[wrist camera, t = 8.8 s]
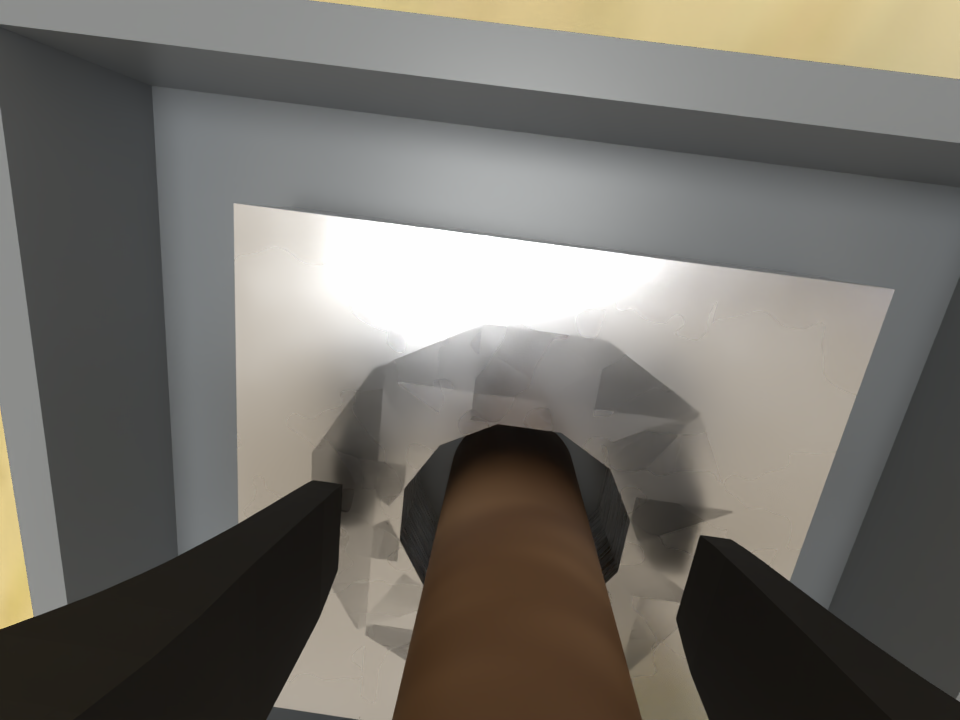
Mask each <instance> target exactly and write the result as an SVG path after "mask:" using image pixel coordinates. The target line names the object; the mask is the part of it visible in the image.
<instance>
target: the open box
mask: <svg viewBox="0 0 960 720" xmlns="http://www.w3.org/2000/svg"><path fill="white" fill-rule="evenodd" d="M234 203H238V204H251V205H264V206H278V207H291V208H299V209H307V210H314V211H322V212H330V213H337V214H345V215H353V216H360V217H368V218H376V219H383V220H391V221H399V222H406V223H414V224H422V225H429V226H437V227H445V228H452V229H460V230H468V231H475V232H483V233H491V234H498V235H506V236H514V237H521V238H529V239H537V240H544V241H552V242H560V243H568V244H575V245H583V246H591V247H598V248H606V249H614V250H621V251H629V252H637V253H644V254H652V255H660V256H667V257H675V258H683V259H690V260H698V261H706V262H713V263H721V264H729V265H736V266H744V267H752V268H759V269H767V270H775V271H782V272H790V273H798V274H805V275H812V276H818V277H824V278H830V279H836V280H842V281H848V282H854V283H860V284H866V285H871V286H877V287H883V288H889V289H895V291H894V294H893V296H892V299H891V302H890V305H889V307H888V310H887V313H886V316H885V318H884V321H883V324H882V327H881V329H880V332H879V335H878V338H877V341H876V343H875V346H874V349H873V352H872V354H871V357H870V360H869V363H868V365H867V368H866V371H865V374H864V377H863V379H862V382H861V385H860V388H859V390H858V393H857V396H856V399H855V401H854V404H853V407H852V410H851V413H850V415H849V418H848V421H847V424H846V426H845V429H844V432H843V435H842V437H841V440H840V443H839V446H838V448H837V451H836V454H835V457H834V460H833V462H832V465H831V468H830V471H829V473H828V476H827V479H826V482H825V484H824V487H823V490H822V493H821V496H820V498H819V501H818V504H817V507H816V509H815V512H814V515H813V518H812V520H811V523H810V526H809V529H808V532H807V534H806V537H805V540H804V543H803V545H802V548H801V551H800V554H799V556H798V559H797V562H796V565H795V567H794V570H793V573H792V576H791V579H790V582H791V583H793V584H794V585H795V586H797V587H798V588H799V589H800V590H802V591H803V592H804V593H806V594H807V595H808V596H810V597H811V598H812V599H814V600H815V601H816V602H818V603H819V604H820V605H822V606H823V607H824V608H826V609H827V610H828V611H830V612H831V613H832V614H834V615H835V616H836V617H838V618H839V619H840V620H842V621H843V622H844V623H846V624H847V625H849V626H850V627H851V628H853V629H854V630H855V631H857V632H858V633H860V634H861V635H862V636H864V637H865V638H866V639H868V640H869V641H871V642H872V643H873V644H875V645H876V646H878V647H879V648H881V649H882V650H883V651H885V652H886V653H888V654H889V655H891V656H892V657H894V658H895V659H896V660H898V661H899V662H901V663H902V664H904V665H905V666H906V667H908V668H909V669H911V670H912V671H914V672H915V673H917V674H918V675H919V676H921V677H922V678H924V679H926V680H927V681H929V682H930V683H932V684H933V685H935V686H936V687H938V688H939V689H941V690H942V691H944V692H945V693H947V694H948V695H950V696H952V697H953V698H955V699H956V700H958V701H959V702H960V79H952V78H944V77H936V76H928V75H919V74H911V73H903V72H895V71H886V70H878V69H870V68H862V67H854V66H845V65H837V64H829V63H821V62H812V61H804V60H796V59H788V58H779V57H771V56H763V55H755V54H747V53H738V52H730V51H722V50H714V49H705V48H697V47H689V46H681V45H672V44H664V43H656V42H648V41H640V40H631V39H623V38H615V37H607V36H598V35H590V34H582V33H574V32H565V31H557V30H549V29H541V28H533V27H524V26H516V25H508V24H500V23H491V22H483V21H475V20H467V19H458V18H450V17H442V16H434V15H426V14H417V13H409V12H401V11H393V10H384V9H376V8H368V7H360V6H351V5H343V4H335V3H327V2H319V1H310V0H0V408H1V415H2V421H3V427H4V433H5V440H6V446H7V452H8V458H9V465H10V471H11V477H12V483H13V490H14V496H15V502H16V508H17V515H18V521H19V527H20V534H21V540H22V546H23V552H24V559H25V565H26V571H27V577H28V584H29V590H30V596H31V602H32V609H33V615H34V617H35V616H38V615H41V614H43V613H46V612H49V611H51V610H54V609H57V608H59V607H62V606H65V605H67V604H70V603H73V602H75V601H78V600H81V599H83V598H86V597H88V596H91V595H93V594H96V593H98V592H100V591H103V590H105V589H107V588H110V587H112V586H114V585H117V584H119V583H121V582H123V581H126V580H128V579H130V578H133V577H135V576H137V575H139V574H142V573H144V572H146V571H148V570H150V569H152V568H154V567H157V566H159V565H161V564H163V563H165V562H167V561H169V560H171V559H173V558H175V557H177V556H179V555H181V554H183V553H185V552H186V551H188V550H190V549H192V548H194V547H196V546H198V545H200V544H202V543H203V542H205V541H207V540H209V539H211V538H213V537H215V536H217V535H219V534H220V533H222V532H224V531H226V530H228V529H230V528H231V527H233V526H235V525H237V524H238V463H237V398H236V332H235V266H234ZM555 433H556V434H557V435H558V436H559V437H560V438H561V439H562V440H563V442H564V443H565V445H566V446H567V448H568V450H569V452H570V455H571V458H572V462H573V466H574V469H575V473H576V477H577V480H578V484H579V488H580V492H581V495H582V499H583V503H584V506H585V510H586V514H587V517H588V516H589V515H590V514H591V513H592V512H593V511H594V510H595V509H596V508H597V507H598V503H599V498H600V493H601V489H602V484H603V480H604V475H605V471H606V466H605V465H604V464H603V463H601V462H600V461H599V460H597V459H596V458H595V457H593V456H592V455H591V454H589V453H588V452H587V451H585V450H584V449H582V448H581V447H580V446H578V445H577V444H576V443H574V442H573V441H572V440H570V439H569V438H568V437H566V436H565V435H564V434H562V433H560V432H555ZM464 437H465V436H463V437H461V438H458V439H455V440H452V441H450V442H447V443H444V444H442V445H439V447H438V448H437V449H436V450H435V452H434V453H433V454H432V455H431V456H430V458H429V459H428V460H427V461H426V463H425V464H424V465H423V466H422V467H421V473H420V484H421V486H422V488H423V490H424V492H425V494H426V496H427V498H428V500H429V502H430V504H431V506H432V508H433V510H434V512H435V514H436V516H437V518H438V520H439V517H440V513H441V508H442V504H443V500H444V496H445V491H446V487H447V483H448V479H449V474H450V470H451V466H452V462H453V457H454V454H455V452H456V449H457V447H458V445H459V444H460V442H461V441H462V440H463V438H464ZM266 720H358V719H352V718H345V717H338V716H332V715H325V714H319V713H312V712H305V711H299V710H292V709H286V708H279V707H273V708H272V710H271V712H270V714H269V716H268V718H267V719H266Z"/></svg>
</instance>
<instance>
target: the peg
mask: <svg viewBox="0 0 960 720" xmlns="http://www.w3.org/2000/svg"><path fill="white" fill-rule="evenodd" d="M392 720H642V718H641V714H640V710H639V707H638V703H637V699H636V695H635V692H634V688H633V684H632V681H631V677H630V673H629V669H628V666H627V662H626V658H625V655H624V651H623V647H622V644H621V640H620V636H619V632H618V629H617V625H616V621H615V618H614V614H613V610H612V606H611V603H610V599H609V595H608V592H607V588H606V584H605V581H604V577H603V573H602V569H601V566H600V562H599V558H598V555H597V551H596V547H595V543H594V540H593V536H592V532H591V529H590V525H589V521H588V518H587V514H586V510H585V506H584V503H583V499H582V495H581V492H580V488H579V484H578V480H577V477H576V473H575V469H574V466H573V462H572V458H571V455H570V452H569V450H568V448H567V446H566V445H565V443H564V442H563V440H562V439H561V438H560V437H559V436H558V435H557V434H556V433H555V432H552V431H545V430H538V429H531V428H524V427H516V426H509V425H502V424H496V425H493V426H491V427H488V428H485V429H482V430H480V431H477V432H474V433H472V434H469V435H466V436H465V437H464V438H463V440H462V441H461V442H460V444H459V445H458V447H457V449H456V452H455V454H454V457H453V462H452V466H451V470H450V474H449V479H448V483H447V487H446V491H445V496H444V500H443V504H442V508H441V513H440V517H439V521H438V526H437V530H436V534H435V538H434V543H433V547H432V551H431V555H430V560H429V564H428V568H427V572H426V577H425V581H424V585H423V590H422V594H421V598H420V602H419V607H418V611H417V615H416V619H415V624H414V628H413V632H412V637H411V641H410V645H409V649H408V654H407V658H406V662H405V666H404V671H403V675H402V679H401V683H400V688H399V692H398V696H397V701H396V705H395V709H394V713H393V718H392Z"/></svg>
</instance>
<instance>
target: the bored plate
mask: <svg viewBox="0 0 960 720" xmlns="http://www.w3.org/2000/svg"><path fill="white" fill-rule="evenodd" d="M234 266H235V332H236V398H237V463H238V523H240V522H242V521H244V520H245V519H247V518H249V517H250V516H252V515H254V514H255V513H257V512H259V511H261V510H262V509H264V508H266V507H267V506H269V505H271V504H272V503H274V502H276V501H277V500H279V499H281V498H282V497H284V496H286V495H287V494H289V493H291V492H292V491H294V490H296V489H298V488H299V487H301V486H303V485H304V484H306V483H308V482H310V481H312V480H317V481H324V482H331V483H338V484H343V486H342V505H341V525H340V544H339V563H338V571H337V574H336V577H335V579H334V582H333V585H332V587H331V590H330V593H329V595H328V598H327V600H326V603H325V605H324V608H323V611H322V613H321V616H320V618H319V620H318V622H317V624H316V626H315V628H314V630H313V632H312V634H311V636H310V638H309V639H308V641H307V643H306V645H305V647H304V649H303V651H302V653H301V655H300V657H299V659H298V661H297V663H296V664H295V666H294V668H293V670H292V672H291V674H290V676H289V678H288V680H287V681H286V683H285V685H284V687H283V689H282V691H281V693H280V695H279V697H278V699H277V700H276V702H275V704H274V706H273V707H279V708H286V709H292V710H299V711H305V712H312V713H319V714H325V715H332V716H338V717H345V718H352V719H358V720H392V718H393V713H394V709H395V705H396V701H397V696H398V692H399V688H400V683H401V679H402V675H403V671H404V666H405V662H406V658H407V654H408V649H409V645H410V641H411V637H412V632H413V628H414V624H415V619H416V615H417V611H418V607H419V602H420V598H421V594H422V590H423V585H424V581H425V577H426V572H427V568H428V564H429V560H430V555H431V551H432V547H433V543H434V538H435V534H436V530H437V526H438V521H439V520H438V518H437V516H436V514H435V512H434V510H433V508H432V506H431V504H430V502H429V500H428V498H427V496H426V494H425V492H424V490H423V488H422V486H421V484H420V473H421V467H422V466H423V465H424V464H425V463H426V461H427V460H428V459H429V458H430V456H431V455H432V454H433V453H434V452H435V450H436V449H437V448H438V447H439V445H442V444H444V443H447V442H450V441H452V440H455V439H458V438H461V437H463V436H466V435H469V434H472V433H474V432H477V431H480V430H482V429H485V428H488V427H491V426H493V425H496V424H502V425H509V426H516V427H524V428H531V429H538V430H545V431H552V432H560V433H562V434H564V435H565V436H566V437H568V438H569V439H570V440H572V441H573V442H574V443H576V444H577V445H578V446H580V447H581V448H582V449H584V450H585V451H587V452H588V453H589V454H591V455H592V456H593V457H595V458H596V459H597V460H599V461H600V462H601V463H603V464H604V465H605V466H606V471H605V475H604V480H603V484H602V489H601V493H600V498H599V503H598V507H597V508H596V509H595V510H594V511H593V512H592V513H591V514H590V515H589V516H588V517H587V518H588V521H589V525H590V529H591V532H592V536H593V540H594V543H595V547H596V551H597V555H598V558H599V562H600V566H601V569H602V573H603V577H604V581H605V584H606V588H607V592H608V595H609V599H610V603H611V606H612V610H613V614H614V618H615V621H616V625H617V629H618V632H619V636H620V640H621V644H622V647H623V651H624V655H625V658H626V662H627V666H628V669H629V673H630V677H631V681H632V684H633V688H634V692H635V695H636V699H637V703H638V707H639V710H640V714H641V718H642V720H709V719H708V716H707V714H706V711H705V709H704V706H703V704H702V701H701V699H700V696H699V694H698V691H697V689H696V686H695V684H694V681H693V679H692V676H691V673H690V670H689V667H688V663H687V660H686V656H685V653H684V649H683V645H682V641H681V637H680V634H679V630H678V626H677V622H676V616H677V612H678V609H679V606H680V602H681V599H682V595H683V592H684V588H685V585H686V581H687V578H688V575H689V571H690V568H691V564H692V561H693V557H694V554H695V550H696V547H697V544H698V540H699V537H700V535H705V536H712V537H719V538H726V539H731V540H733V541H735V542H736V543H738V544H739V545H741V546H742V547H744V548H745V549H747V550H748V551H750V552H751V553H752V554H754V555H755V556H757V557H758V558H759V559H761V560H762V561H763V562H765V563H766V564H767V565H769V566H770V567H771V568H773V569H774V570H775V571H777V572H778V573H779V574H781V575H782V576H783V577H785V578H786V579H787V580H789V581H790V579H791V576H792V573H793V570H794V567H795V565H796V562H797V559H798V556H799V554H800V551H801V548H802V545H803V543H804V540H805V537H806V534H807V532H808V529H809V526H810V523H811V520H812V518H813V515H814V512H815V509H816V507H817V504H818V501H819V498H820V496H821V493H822V490H823V487H824V484H825V482H826V479H827V476H828V473H829V471H830V468H831V465H832V462H833V460H834V457H835V454H836V451H837V448H838V446H839V443H840V440H841V437H842V435H843V432H844V429H845V426H846V424H847V421H848V418H849V415H850V413H851V410H852V407H853V404H854V401H855V399H856V396H857V393H858V390H859V388H860V385H861V382H862V379H863V377H864V374H865V371H866V368H867V365H868V363H869V360H870V357H871V354H872V352H873V349H874V346H875V343H876V341H877V338H878V335H879V332H880V329H881V327H882V324H883V321H884V318H885V316H886V313H887V310H888V307H889V305H890V302H891V299H892V296H893V294H894V291H895V289H889V288H883V287H877V286H871V285H866V284H860V283H854V282H848V281H842V280H836V279H830V278H824V277H818V276H812V275H805V274H798V273H790V272H782V271H775V270H767V269H759V268H752V267H744V266H736V265H729V264H721V263H713V262H706V261H698V260H690V259H683V258H675V257H667V256H660V255H652V254H644V253H637V252H629V251H621V250H614V249H606V248H598V247H591V246H583V245H575V244H568V243H560V242H552V241H544V240H537V239H529V238H521V237H514V236H506V235H498V234H491V233H483V232H475V231H468V230H460V229H452V228H445V227H437V226H429V225H422V224H414V223H406V222H399V221H391V220H383V219H376V218H368V217H360V216H353V215H345V214H337V213H330V212H322V211H314V210H307V209H299V208H291V207H278V206H264V205H251V204H238V203H234Z"/></svg>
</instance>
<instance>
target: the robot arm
mask: <svg viewBox="0 0 960 720" xmlns="http://www.w3.org/2000/svg"><path fill="white" fill-rule="evenodd" d="M342 486H343V484H338V483H331V482H324V481H317V480H312V481H310V482H308V483H306V484H304V485H303V486H301V487H299V488H298V489H296V490H294V491H292V492H291V493H289V494H287V495H286V496H284V497H282V498H281V499H279V500H277V501H276V502H274V503H272V504H271V505H269V506H267V507H266V508H264V509H262V510H261V511H259V512H257V513H255V514H254V515H252V516H250V517H249V518H247V519H245V520H244V521H242V522H240V523H238V524H237V525H235V526H233V527H231V528H230V529H228V530H226V531H224V532H222V533H220V534H219V535H217V536H215V537H213V538H211V539H209V540H207V541H205V542H203V543H202V544H200V545H198V546H196V547H194V548H192V549H190V550H188V551H186V552H185V553H183V554H181V555H179V556H177V557H175V558H173V559H171V560H169V561H167V562H165V563H163V564H161V565H159V566H157V567H154V568H152V569H150V570H148V571H146V572H144V573H142V574H139V575H137V576H135V577H133V578H130V579H128V580H126V581H123V582H121V583H119V584H117V585H114V586H112V587H110V588H107V589H105V590H103V591H100V592H98V593H96V594H93V595H91V596H88V597H86V598H83V599H81V600H78V601H75V602H73V603H70V604H67V605H65V606H62V607H59V608H57V609H54V610H51V611H49V612H46V613H43V614H41V615H38V616H35V617H33V618H30V619H27V620H25V621H22V622H19V623H17V624H14V625H11V626H9V627H6V628H3V629H0V720H266V719H267V718H268V716H269V714H270V712H271V710H272V708H273V706H274V704H275V702H276V700H277V699H278V697H279V695H280V693H281V691H282V689H283V687H284V685H285V683H286V681H287V680H288V678H289V676H290V674H291V672H292V670H293V668H294V666H295V664H296V663H297V661H298V659H299V657H300V655H301V653H302V651H303V649H304V647H305V645H306V643H307V641H308V639H309V638H310V636H311V634H312V632H313V630H314V628H315V626H316V624H317V622H318V620H319V618H320V616H321V613H322V611H323V608H324V605H325V603H326V600H327V598H328V595H329V593H330V590H331V587H332V585H333V582H334V579H335V577H336V574H337V571H338V563H339V544H340V525H341V505H342ZM676 622H677V626H678V630H679V634H680V637H681V641H682V645H683V649H684V653H685V656H686V660H687V663H688V667H689V670H690V673H691V676H692V679H693V681H694V684H695V686H696V689H697V691H698V694H699V696H700V699H701V701H702V704H703V706H704V709H705V711H706V714H707V716H708V719H709V720H960V702H959V701H958V700H956V699H955V698H953V697H952V696H950V695H948V694H947V693H945V692H944V691H942V690H941V689H939V688H938V687H936V686H935V685H933V684H932V683H930V682H929V681H927V680H926V679H924V678H922V677H921V676H919V675H918V674H917V673H915V672H914V671H912V670H911V669H909V668H908V667H906V666H905V665H904V664H902V663H901V662H899V661H898V660H896V659H895V658H894V657H892V656H891V655H889V654H888V653H886V652H885V651H883V650H882V649H881V648H879V647H878V646H876V645H875V644H873V643H872V642H871V641H869V640H868V639H866V638H865V637H864V636H862V635H861V634H860V633H858V632H857V631H855V630H854V629H853V628H851V627H850V626H849V625H847V624H846V623H844V622H843V621H842V620H840V619H839V618H838V617H836V616H835V615H834V614H832V613H831V612H830V611H828V610H827V609H826V608H824V607H823V606H822V605H820V604H819V603H818V602H816V601H815V600H814V599H812V598H811V597H810V596H808V595H807V594H806V593H804V592H803V591H802V590H800V589H799V588H798V587H797V586H795V585H794V584H793V583H791V582H790V581H789V580H787V579H786V578H785V577H783V576H782V575H781V574H779V573H778V572H777V571H775V570H774V569H773V568H771V567H770V566H769V565H767V564H766V563H765V562H763V561H762V560H761V559H759V558H758V557H757V556H755V555H754V554H752V553H751V552H750V551H748V550H747V549H745V548H744V547H742V546H741V545H739V544H738V543H736V542H735V541H733V540H731V539H726V538H719V537H712V536H705V535H700V537H699V540H698V544H697V547H696V550H695V554H694V557H693V561H692V564H691V568H690V571H689V575H688V578H687V581H686V585H685V588H684V592H683V595H682V599H681V602H680V606H679V609H678V612H677V616H676Z"/></svg>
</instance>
